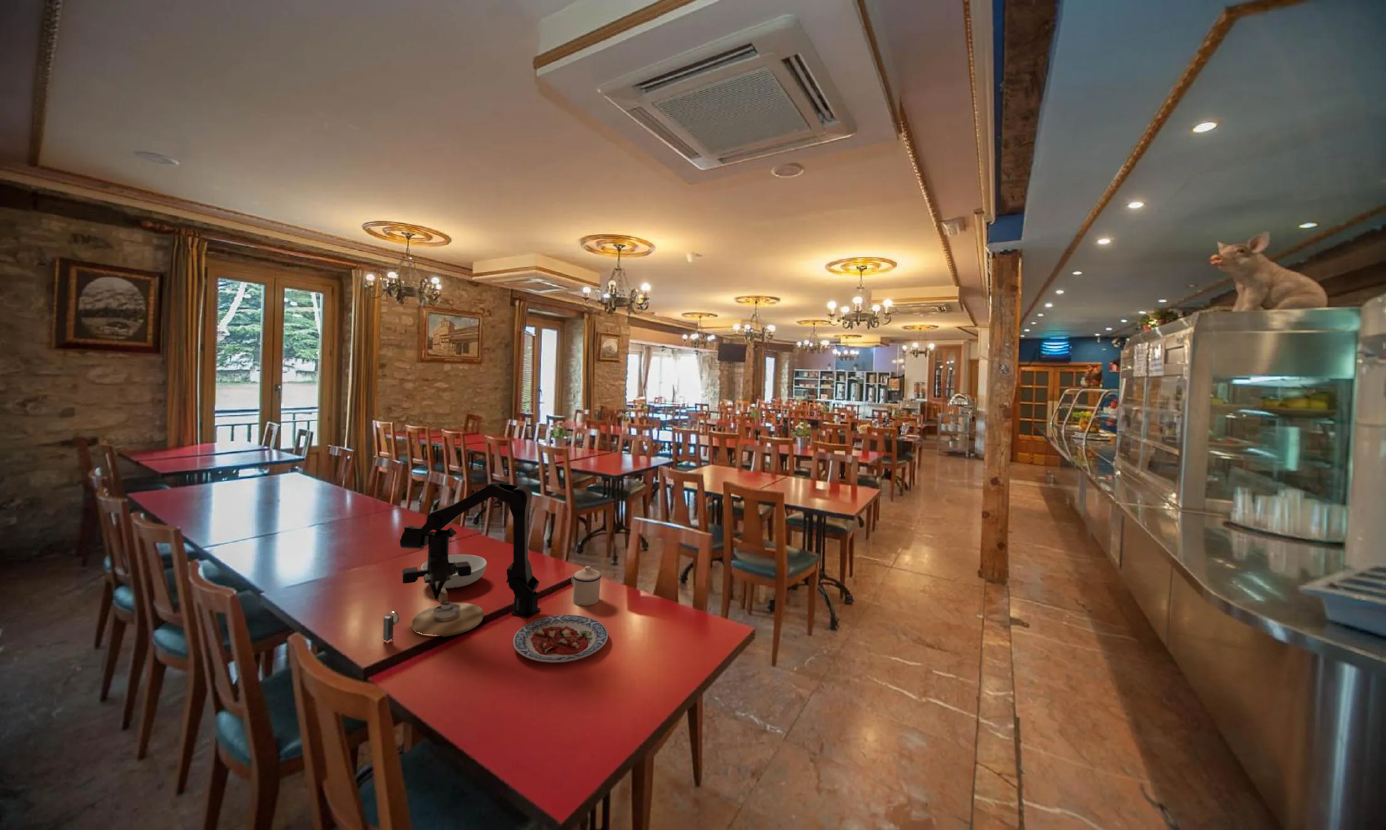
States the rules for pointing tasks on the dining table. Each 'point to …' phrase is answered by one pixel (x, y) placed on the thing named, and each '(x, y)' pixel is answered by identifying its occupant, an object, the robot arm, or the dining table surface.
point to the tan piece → (465, 622)
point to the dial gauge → (390, 625)
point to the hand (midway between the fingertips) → (436, 599)
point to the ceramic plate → (560, 638)
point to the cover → (446, 612)
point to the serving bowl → (477, 571)
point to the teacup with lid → (586, 586)
